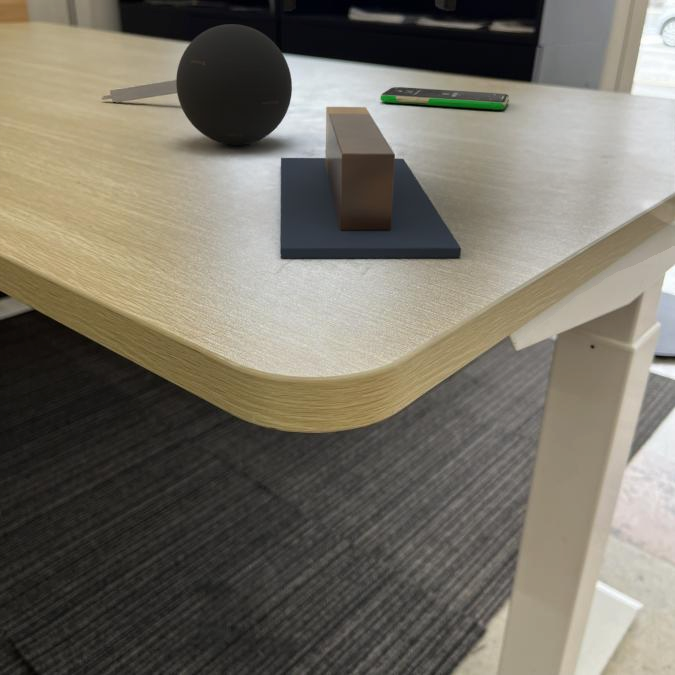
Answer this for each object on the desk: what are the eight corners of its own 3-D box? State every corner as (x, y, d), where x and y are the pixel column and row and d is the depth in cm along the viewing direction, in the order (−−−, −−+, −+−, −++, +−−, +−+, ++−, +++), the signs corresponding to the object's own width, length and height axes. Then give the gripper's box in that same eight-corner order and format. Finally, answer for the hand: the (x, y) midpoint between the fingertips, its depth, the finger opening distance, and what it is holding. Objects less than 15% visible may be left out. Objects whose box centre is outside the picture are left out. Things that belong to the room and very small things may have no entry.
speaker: (292, 133, 72) (292, 21, 68) (291, 157, 63) (290, 29, 59) (188, 132, 72) (181, 19, 67) (172, 155, 63) (162, 27, 58)
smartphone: (505, 102, 86) (378, 94, 90) (504, 111, 86) (378, 102, 90) (510, 93, 92) (392, 86, 96) (509, 101, 93) (391, 93, 97)
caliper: (270, 112, 83) (270, 52, 80) (267, 113, 82) (266, 53, 79) (106, 100, 88) (99, 43, 85) (101, 102, 87) (94, 44, 84)
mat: (403, 165, 61) (403, 158, 61) (460, 258, 42) (461, 247, 41) (281, 165, 61) (281, 157, 60) (280, 258, 41) (280, 248, 41)
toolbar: (339, 231, 44) (341, 153, 42) (325, 166, 58) (326, 106, 56) (390, 230, 44) (395, 153, 42) (363, 166, 58) (366, 107, 56)
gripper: (519, -325, 42) (490, 6, 50) (210, -333, 41) (230, 6, 49) (563, -380, 35) (523, 12, 43) (196, -391, 34) (221, 13, 42)
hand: (367, 9), depth 46 cm, fingers open, 9 cm apart
